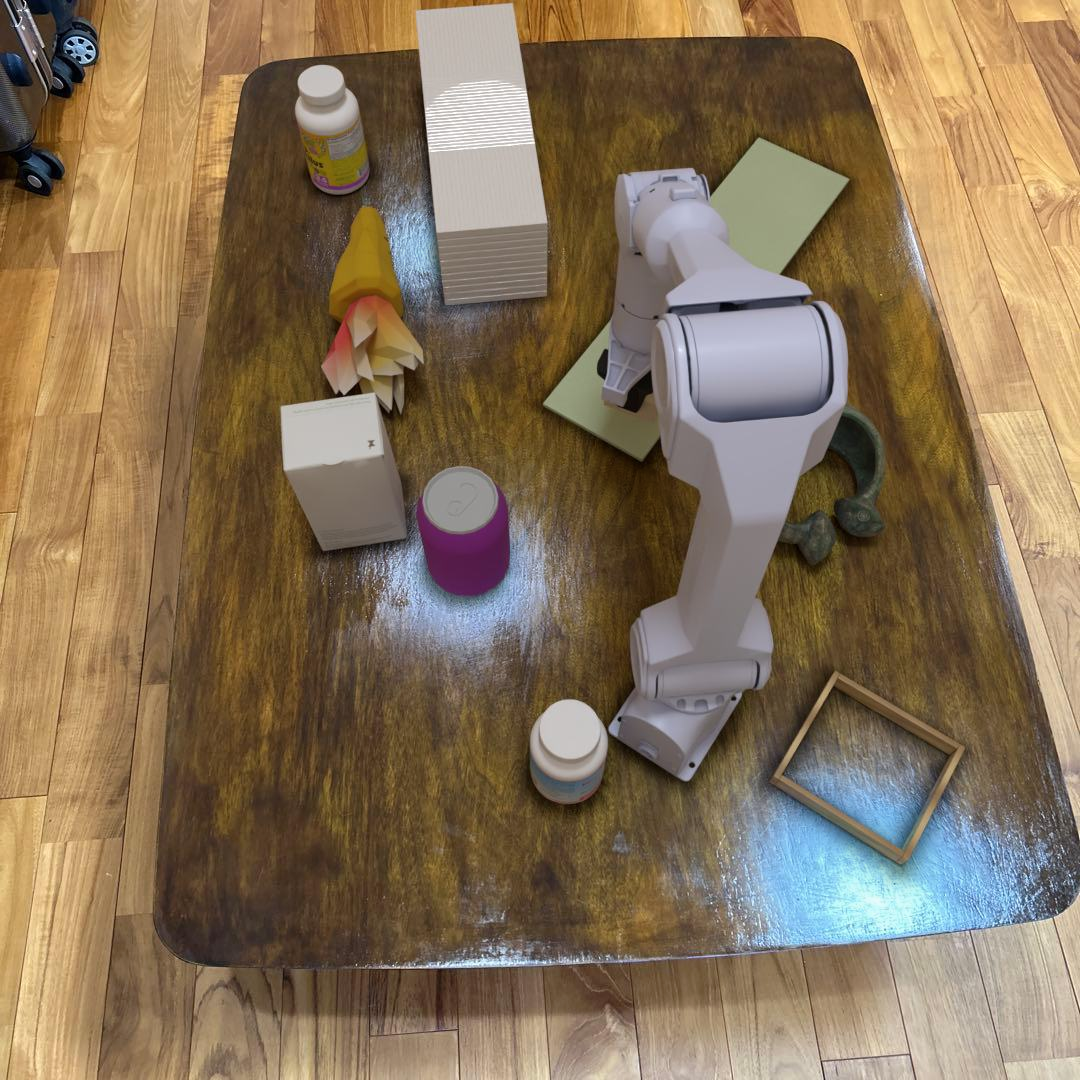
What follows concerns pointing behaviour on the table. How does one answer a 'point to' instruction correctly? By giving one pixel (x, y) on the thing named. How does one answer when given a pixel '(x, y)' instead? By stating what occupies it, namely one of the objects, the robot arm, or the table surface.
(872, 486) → the dark green rounded piece
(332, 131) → the supplement bottle
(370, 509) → the cosmetic box
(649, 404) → the block
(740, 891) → the table surface
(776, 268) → the runner
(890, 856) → the wooden frame
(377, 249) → the torch
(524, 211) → the stack of papers
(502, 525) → the beverage can
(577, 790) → the pill bottle
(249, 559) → the table surface
